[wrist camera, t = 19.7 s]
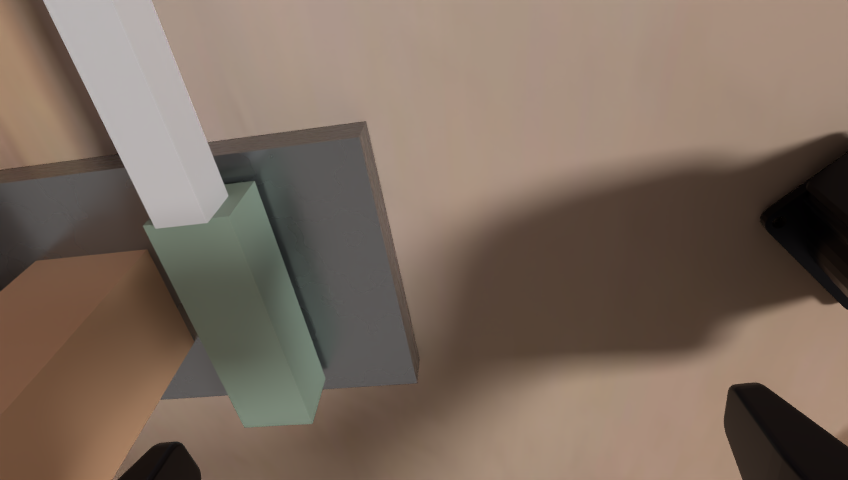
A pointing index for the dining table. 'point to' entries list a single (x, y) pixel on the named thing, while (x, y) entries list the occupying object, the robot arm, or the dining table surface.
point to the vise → (293, 229)
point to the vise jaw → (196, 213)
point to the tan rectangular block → (83, 363)
